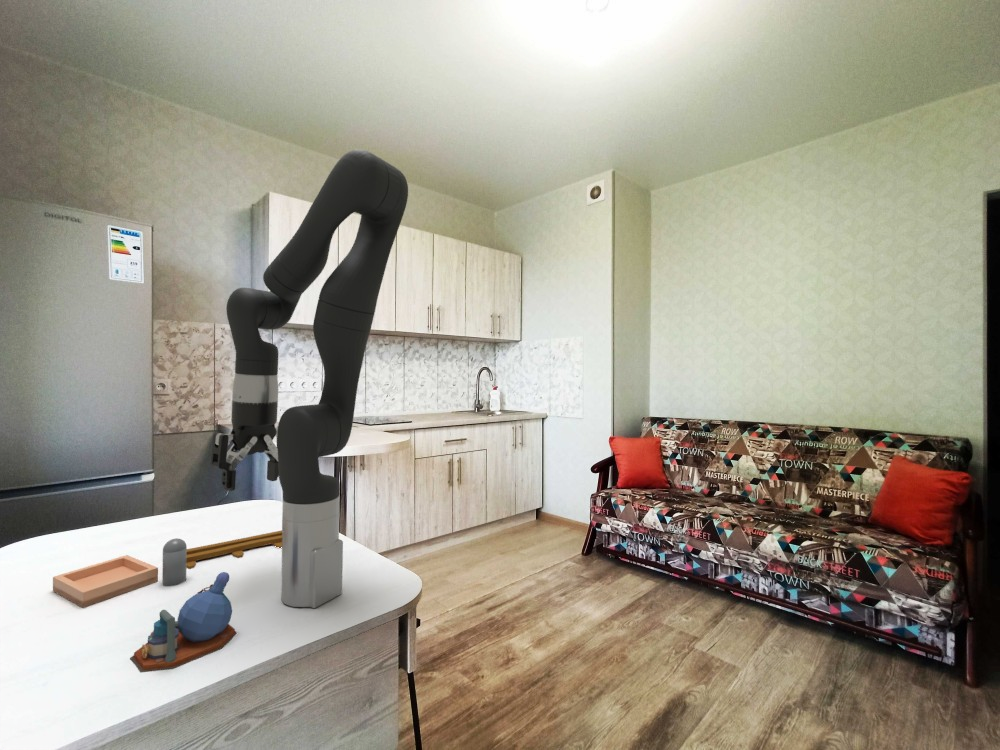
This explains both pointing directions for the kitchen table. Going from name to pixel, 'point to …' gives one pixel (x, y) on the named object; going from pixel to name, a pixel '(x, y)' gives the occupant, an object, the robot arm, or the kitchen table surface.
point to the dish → (104, 580)
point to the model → (189, 631)
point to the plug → (174, 562)
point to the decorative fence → (232, 547)
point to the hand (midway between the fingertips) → (251, 484)
